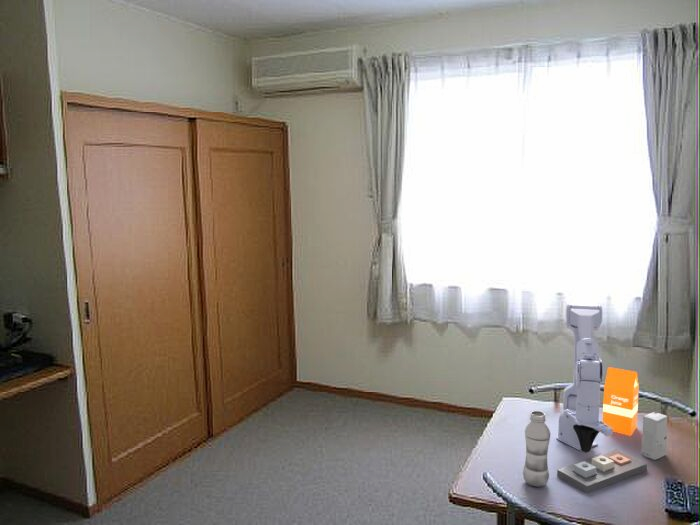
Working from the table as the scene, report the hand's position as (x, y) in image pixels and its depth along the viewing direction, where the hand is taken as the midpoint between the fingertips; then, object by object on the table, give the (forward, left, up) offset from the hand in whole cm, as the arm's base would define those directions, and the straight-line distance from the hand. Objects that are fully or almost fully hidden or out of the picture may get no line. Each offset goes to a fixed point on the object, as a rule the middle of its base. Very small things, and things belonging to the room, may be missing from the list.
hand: (585, 451), depth 157 cm
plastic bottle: (-5, -13, -9) cm, 16 cm away
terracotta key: (0, +14, -8) cm, 16 cm away
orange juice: (-17, +36, -9) cm, 41 cm away
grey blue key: (0, 0, -6) cm, 6 cm away
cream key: (0, +7, -6) cm, 9 cm away
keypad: (0, +7, -8) cm, 11 cm away
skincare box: (0, +29, -9) cm, 30 cm away
